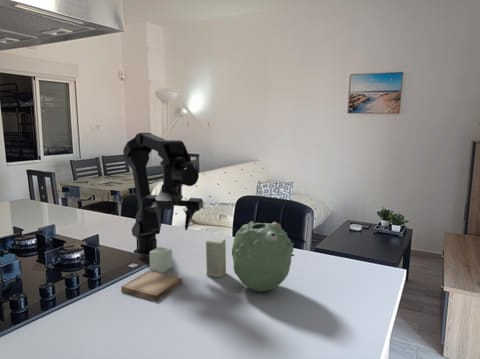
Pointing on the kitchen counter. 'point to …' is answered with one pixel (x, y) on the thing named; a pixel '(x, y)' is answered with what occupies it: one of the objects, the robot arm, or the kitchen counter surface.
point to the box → (216, 257)
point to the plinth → (151, 285)
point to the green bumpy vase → (262, 255)
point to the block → (160, 259)
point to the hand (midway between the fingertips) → (172, 228)
